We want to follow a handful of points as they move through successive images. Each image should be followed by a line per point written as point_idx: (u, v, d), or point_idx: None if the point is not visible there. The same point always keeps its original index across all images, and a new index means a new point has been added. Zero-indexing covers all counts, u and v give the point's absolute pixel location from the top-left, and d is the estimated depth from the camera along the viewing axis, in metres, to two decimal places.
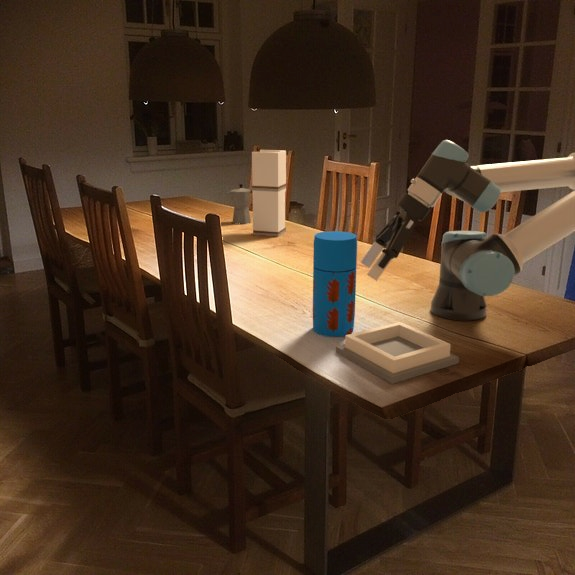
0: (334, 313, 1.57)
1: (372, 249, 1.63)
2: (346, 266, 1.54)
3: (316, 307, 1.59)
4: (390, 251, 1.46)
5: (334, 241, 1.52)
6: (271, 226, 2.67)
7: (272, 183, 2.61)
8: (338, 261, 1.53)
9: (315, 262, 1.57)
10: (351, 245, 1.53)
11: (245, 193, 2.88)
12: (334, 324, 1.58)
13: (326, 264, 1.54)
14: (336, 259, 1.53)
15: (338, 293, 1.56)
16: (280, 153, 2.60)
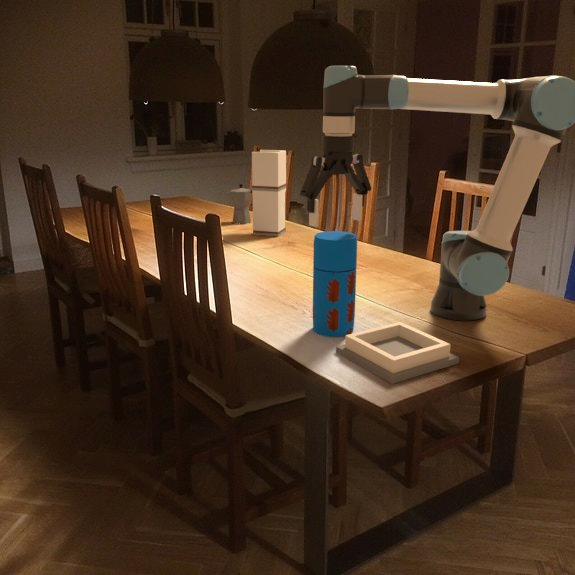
0: (334, 313, 1.57)
1: (354, 201, 1.59)
2: (346, 266, 1.54)
3: (316, 307, 1.59)
4: (301, 193, 1.49)
5: (334, 241, 1.52)
6: (271, 226, 2.67)
7: (272, 183, 2.61)
8: (338, 261, 1.53)
9: (315, 262, 1.57)
10: (351, 245, 1.53)
11: (245, 193, 2.88)
12: (334, 324, 1.58)
13: (326, 264, 1.54)
14: (336, 259, 1.53)
15: (338, 293, 1.56)
16: (280, 153, 2.60)
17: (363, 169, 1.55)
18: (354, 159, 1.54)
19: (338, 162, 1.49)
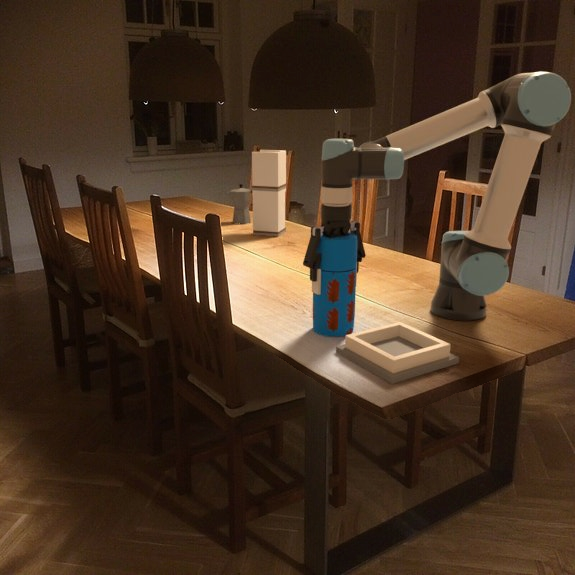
0: (334, 313, 1.57)
1: None
2: (346, 266, 1.54)
3: (316, 307, 1.59)
4: (303, 263, 1.54)
5: (334, 241, 1.52)
6: (271, 226, 2.67)
7: (272, 183, 2.61)
8: (338, 261, 1.53)
9: None
10: (351, 245, 1.53)
11: (245, 193, 2.88)
12: (334, 324, 1.58)
13: (326, 264, 1.54)
14: (336, 258, 1.53)
15: (338, 293, 1.56)
16: (280, 153, 2.60)
17: (359, 237, 1.60)
18: (352, 226, 1.59)
19: (336, 230, 1.54)
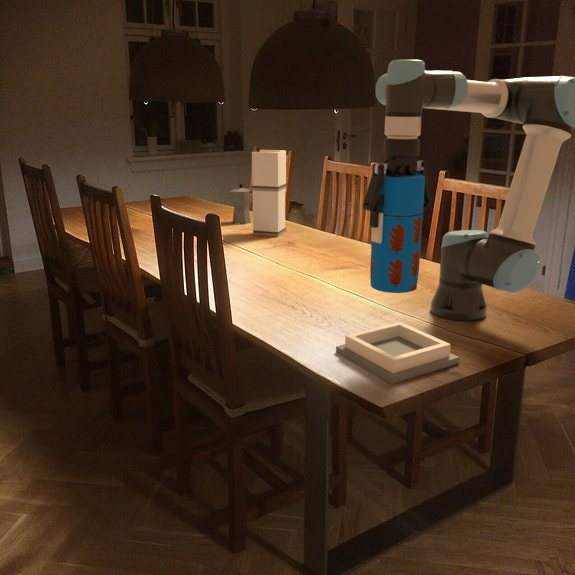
0: (397, 265, 1.36)
1: None
2: (413, 210, 1.33)
3: (376, 259, 1.38)
4: (363, 206, 1.34)
5: (400, 179, 1.31)
6: (271, 226, 2.67)
7: (272, 183, 2.61)
8: (404, 203, 1.32)
9: None
10: (419, 185, 1.32)
11: (245, 193, 2.88)
12: (397, 278, 1.37)
13: (389, 207, 1.33)
14: (401, 200, 1.32)
15: (402, 241, 1.35)
16: (280, 153, 2.60)
17: (426, 178, 1.39)
18: (418, 165, 1.37)
19: (402, 168, 1.33)
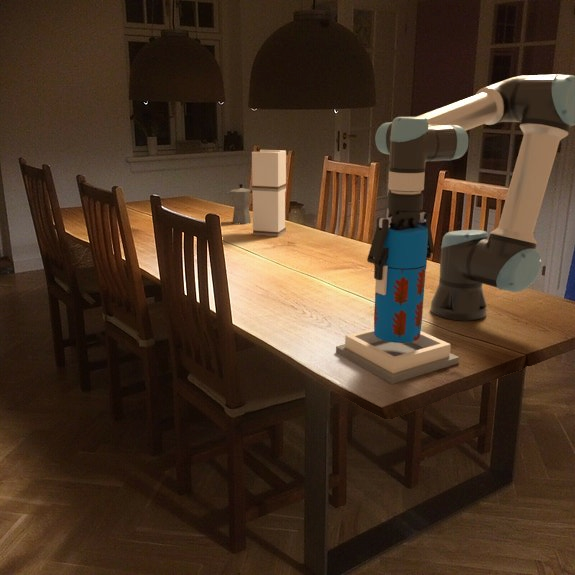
0: (401, 316, 1.38)
1: None
2: (417, 263, 1.35)
3: (380, 309, 1.40)
4: (368, 259, 1.35)
5: (404, 234, 1.33)
6: (271, 226, 2.67)
7: (272, 183, 2.61)
8: (408, 256, 1.34)
9: None
10: (422, 238, 1.34)
11: (245, 193, 2.88)
12: (401, 328, 1.39)
13: (394, 260, 1.35)
14: (406, 254, 1.34)
15: (406, 293, 1.37)
16: (280, 153, 2.60)
17: (429, 229, 1.41)
18: (421, 217, 1.40)
19: (405, 222, 1.35)
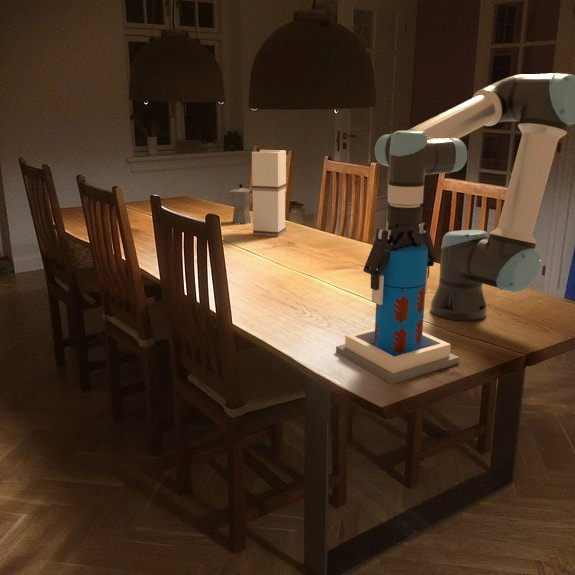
0: (401, 334, 1.40)
1: None
2: (417, 282, 1.37)
3: (381, 327, 1.42)
4: (364, 269, 1.35)
5: (404, 253, 1.34)
6: (271, 226, 2.67)
7: (272, 183, 2.61)
8: (408, 275, 1.36)
9: None
10: (422, 258, 1.36)
11: (245, 193, 2.88)
12: (401, 346, 1.41)
13: (394, 279, 1.37)
14: (406, 273, 1.36)
15: (406, 312, 1.38)
16: (280, 153, 2.60)
17: (429, 239, 1.42)
18: (420, 229, 1.40)
19: (405, 235, 1.36)
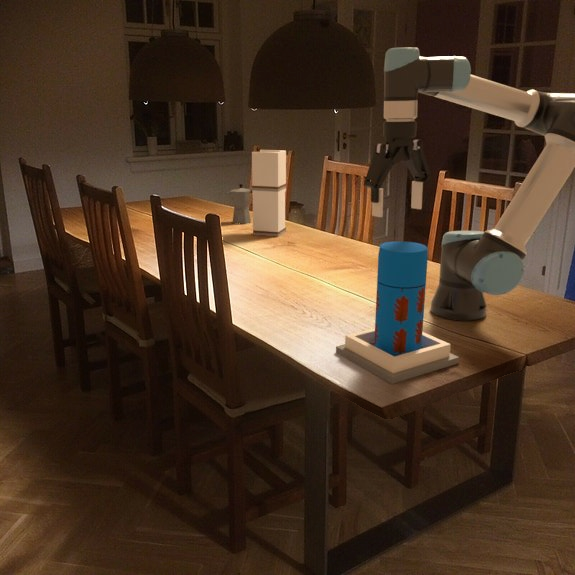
0: (401, 334, 1.40)
1: (413, 189, 1.53)
2: (417, 282, 1.37)
3: (381, 327, 1.42)
4: (365, 183, 1.42)
5: (404, 253, 1.34)
6: (271, 226, 2.67)
7: (272, 183, 2.61)
8: (408, 275, 1.36)
9: (380, 277, 1.39)
10: (422, 258, 1.36)
11: (245, 193, 2.88)
12: (401, 346, 1.41)
13: (394, 279, 1.37)
14: (406, 273, 1.36)
15: (406, 312, 1.38)
16: (280, 153, 2.60)
17: (423, 155, 1.49)
18: (414, 145, 1.48)
19: (401, 149, 1.43)
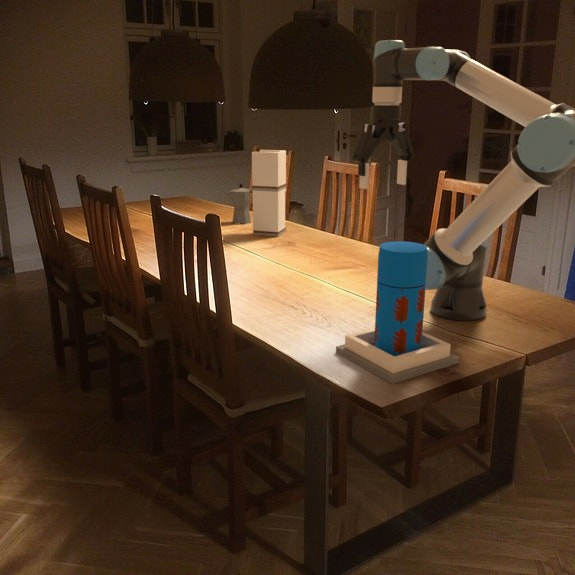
0: (401, 334, 1.40)
1: (399, 167, 1.73)
2: (417, 282, 1.37)
3: (381, 327, 1.42)
4: (353, 158, 1.63)
5: (404, 253, 1.34)
6: (271, 226, 2.67)
7: (272, 183, 2.61)
8: (408, 275, 1.36)
9: (380, 277, 1.39)
10: (422, 258, 1.36)
11: (245, 193, 2.88)
12: (401, 346, 1.41)
13: (394, 279, 1.37)
14: (406, 273, 1.36)
15: (406, 312, 1.38)
16: (280, 153, 2.60)
17: (408, 137, 1.69)
18: (400, 127, 1.68)
19: (387, 129, 1.63)
